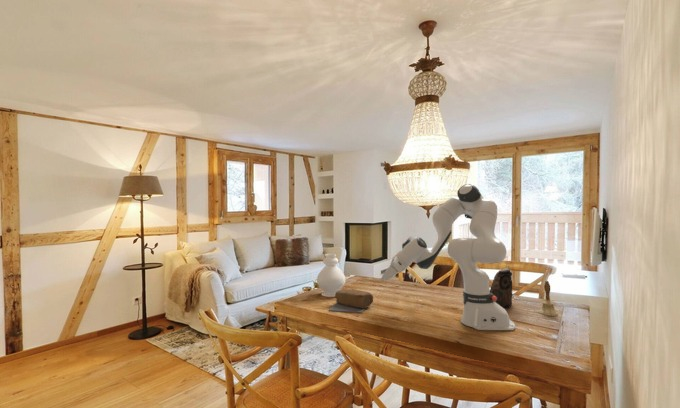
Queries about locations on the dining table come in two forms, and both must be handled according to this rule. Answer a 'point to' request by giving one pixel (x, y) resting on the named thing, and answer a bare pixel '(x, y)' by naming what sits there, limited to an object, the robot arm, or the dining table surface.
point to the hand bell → (548, 303)
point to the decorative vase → (330, 276)
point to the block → (354, 298)
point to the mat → (346, 308)
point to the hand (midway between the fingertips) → (382, 278)
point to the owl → (502, 288)
